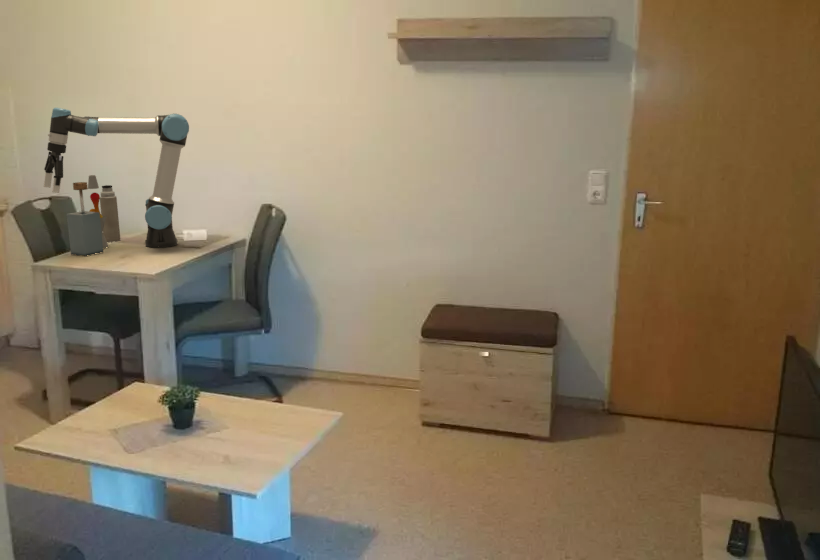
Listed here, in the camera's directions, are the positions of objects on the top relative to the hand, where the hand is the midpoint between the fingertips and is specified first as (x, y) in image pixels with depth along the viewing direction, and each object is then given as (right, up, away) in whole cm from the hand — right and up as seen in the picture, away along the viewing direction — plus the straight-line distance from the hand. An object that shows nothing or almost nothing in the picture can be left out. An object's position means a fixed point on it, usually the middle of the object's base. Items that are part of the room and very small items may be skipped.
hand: (51, 189), depth 348 cm
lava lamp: (+11, -25, +27) cm, 38 cm away
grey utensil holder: (+11, -28, +13) cm, 33 cm away
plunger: (+11, -17, +10) cm, 23 cm away
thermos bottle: (+10, -21, +45) cm, 51 cm away
